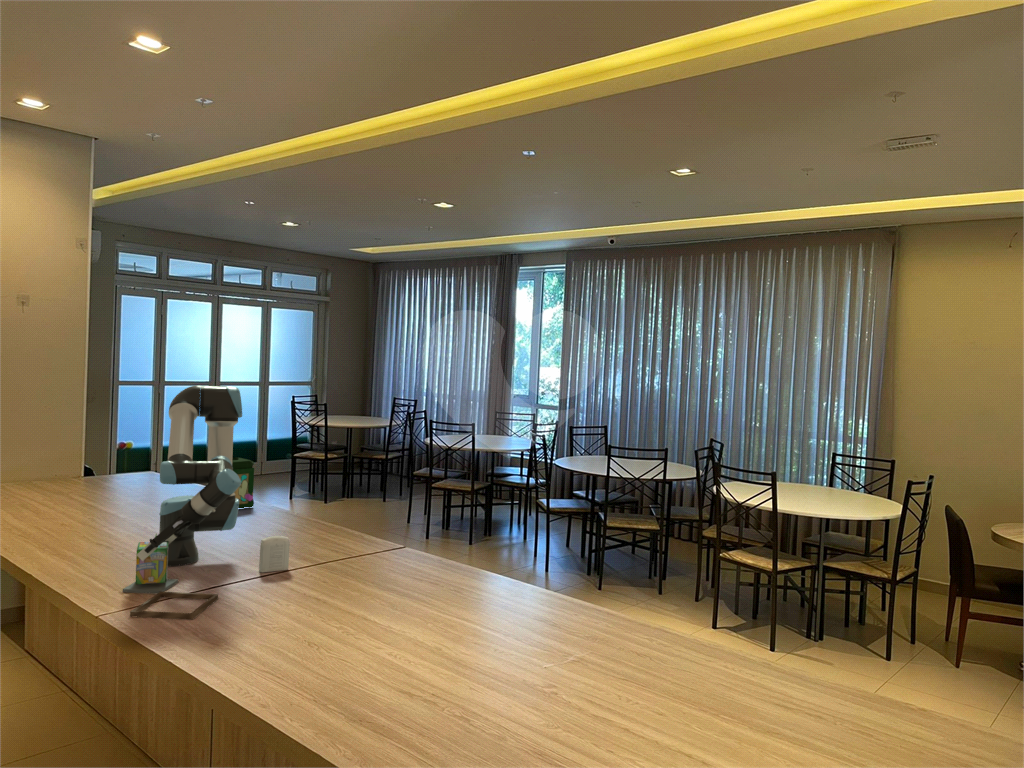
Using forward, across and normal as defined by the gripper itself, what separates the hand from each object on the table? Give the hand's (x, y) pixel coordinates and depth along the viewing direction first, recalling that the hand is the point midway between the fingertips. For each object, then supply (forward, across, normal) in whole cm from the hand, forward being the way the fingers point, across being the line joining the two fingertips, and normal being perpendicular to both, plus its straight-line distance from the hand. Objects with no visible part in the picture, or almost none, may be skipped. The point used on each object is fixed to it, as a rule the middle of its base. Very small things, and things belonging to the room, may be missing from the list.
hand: (149, 552), depth 229 cm
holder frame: (-4, -17, -20) cm, 26 cm away
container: (+23, +124, +6) cm, 126 cm away
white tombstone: (-15, +24, -31) cm, 42 cm away
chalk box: (+6, 0, -7) cm, 9 cm away
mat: (+7, 0, -9) cm, 11 cm away
